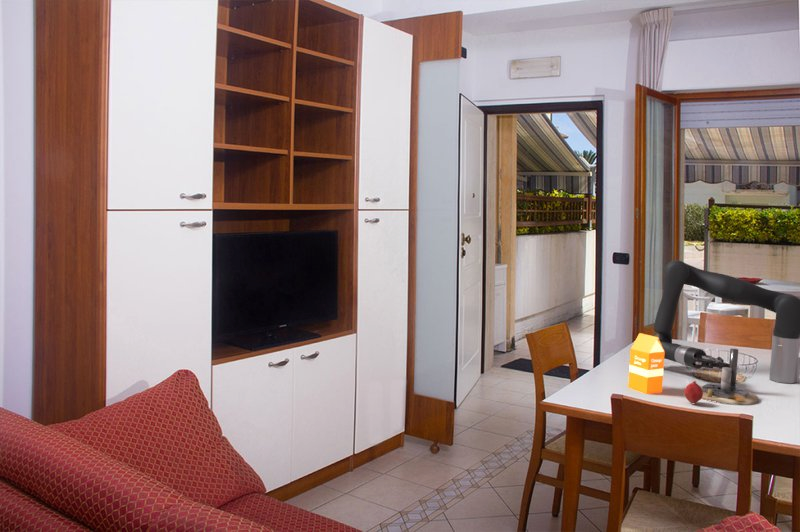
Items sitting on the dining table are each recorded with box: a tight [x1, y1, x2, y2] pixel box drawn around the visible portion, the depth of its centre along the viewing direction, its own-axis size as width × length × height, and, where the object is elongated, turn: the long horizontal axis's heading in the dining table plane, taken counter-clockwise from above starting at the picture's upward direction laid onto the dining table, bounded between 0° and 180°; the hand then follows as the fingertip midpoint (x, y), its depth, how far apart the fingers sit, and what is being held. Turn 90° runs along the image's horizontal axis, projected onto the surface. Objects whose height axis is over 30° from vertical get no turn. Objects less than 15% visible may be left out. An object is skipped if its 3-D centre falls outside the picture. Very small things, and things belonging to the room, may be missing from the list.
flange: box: [702, 348, 750, 401], centre depth 250 cm, size 15×18×14 cm
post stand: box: [699, 367, 759, 406], centre depth 251 cm, size 21×21×10 cm
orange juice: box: [627, 332, 665, 395], centre depth 256 cm, size 8×9×20 cm
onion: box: [683, 380, 703, 404], centre depth 241 cm, size 6×6×8 cm
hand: (728, 367), depth 259 cm, fingers closed
